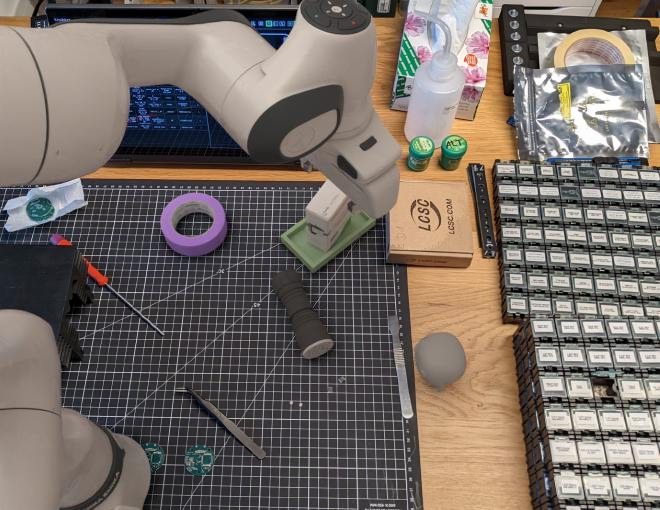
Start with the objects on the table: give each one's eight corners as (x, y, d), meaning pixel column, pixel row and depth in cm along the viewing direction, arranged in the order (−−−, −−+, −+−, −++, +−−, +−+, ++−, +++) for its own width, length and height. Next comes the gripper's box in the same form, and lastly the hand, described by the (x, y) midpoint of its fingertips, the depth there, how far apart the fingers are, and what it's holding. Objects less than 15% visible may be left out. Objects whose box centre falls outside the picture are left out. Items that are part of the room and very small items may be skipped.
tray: (313, 273, 112) (313, 268, 110) (280, 241, 115) (280, 235, 113) (375, 224, 117) (376, 219, 115) (342, 195, 120) (342, 189, 118)
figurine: (403, 357, 104) (412, 330, 94) (447, 350, 105) (461, 322, 94) (414, 404, 100) (425, 381, 90) (459, 397, 101) (475, 373, 90)
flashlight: (270, 287, 110) (267, 273, 106) (298, 276, 111) (296, 261, 107) (304, 362, 103) (303, 350, 99) (333, 349, 105) (333, 337, 100)
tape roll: (206, 193, 120) (202, 181, 117) (239, 234, 116) (237, 223, 112) (153, 224, 116) (148, 213, 113) (185, 268, 112) (181, 257, 109)
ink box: (329, 209, 118) (330, 172, 108) (352, 221, 117) (355, 184, 106) (305, 243, 114) (303, 207, 104) (328, 255, 113) (328, 220, 103)
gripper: (257, 85, 76) (266, 156, 88) (373, 187, 69) (365, 249, 81) (296, 60, 78) (300, 133, 90) (413, 157, 71) (400, 222, 83)
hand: (332, 188), depth 85 cm, fingers open, 8 cm apart
